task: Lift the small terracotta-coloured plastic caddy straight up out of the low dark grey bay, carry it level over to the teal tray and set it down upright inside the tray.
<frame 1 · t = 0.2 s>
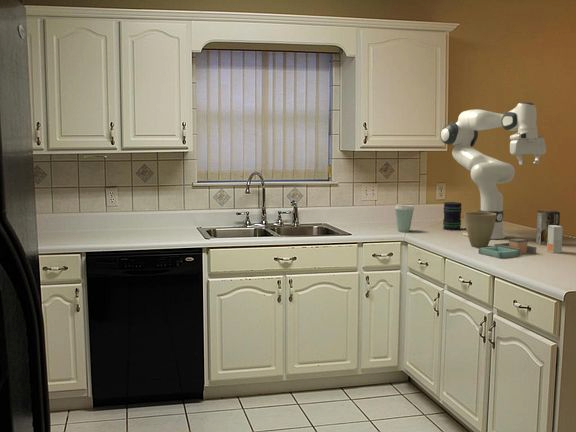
hand: (528, 164, 323), 39 cm above the counter, tool pointing down, fingers open, 8 cm apart
storage jar: (451, 229, 379), on the counter
tray: (498, 254, 297), on the counter
plant pot: (478, 247, 319), on the counter
caddy: (517, 252, 303), resting in bay
coffee box: (547, 244, 328), on the counter
skincare box: (554, 252, 305), on the counter
bay: (517, 252, 303), on the counter
disposable coffee cup: (404, 231, 370), on the counter
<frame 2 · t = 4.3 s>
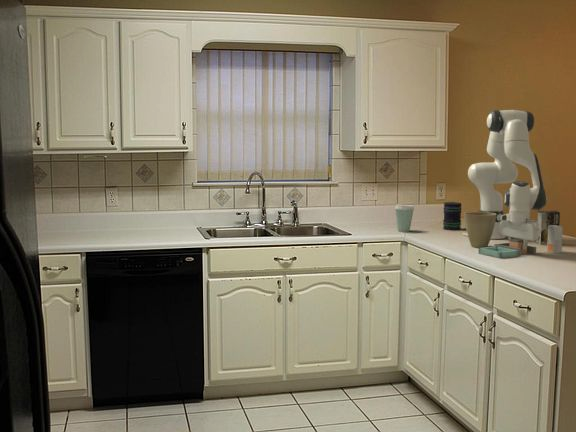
hand: (518, 248, 302), 2 cm above the counter, tool pointing down, fingers closed on caddy, 5 cm apart
caddy: (517, 252, 303), resting in bay, touching gripper
everything else where it was.
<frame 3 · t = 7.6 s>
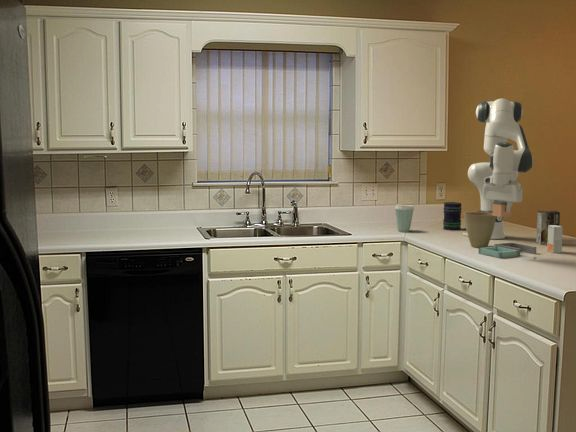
hand: (501, 211, 295), 20 cm above the counter, tool pointing down, fingers closed on caddy, 5 cm apart
caddy: (501, 215, 295), point 17 cm above the counter, touching gripper
everything else where it was.
when the fingers open (4 cm above the counter, at t = 11.1 s): caddy drops 1 cm, resting on tray.
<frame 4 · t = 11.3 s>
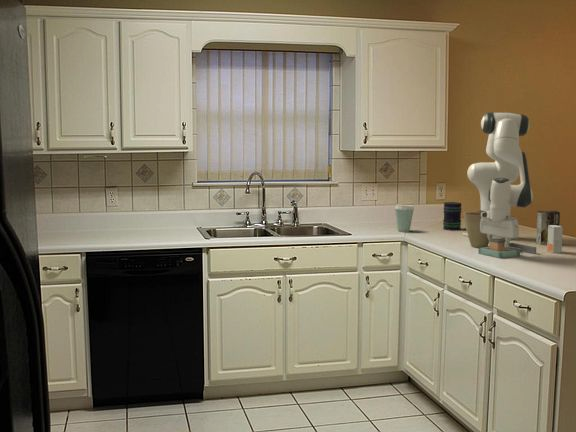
hand: (498, 245, 297), 4 cm above the counter, tool pointing down, fingers open, 7 cm apart
caddy: (498, 253, 297), point 1 cm above the counter, touching tray
everything else where it was.
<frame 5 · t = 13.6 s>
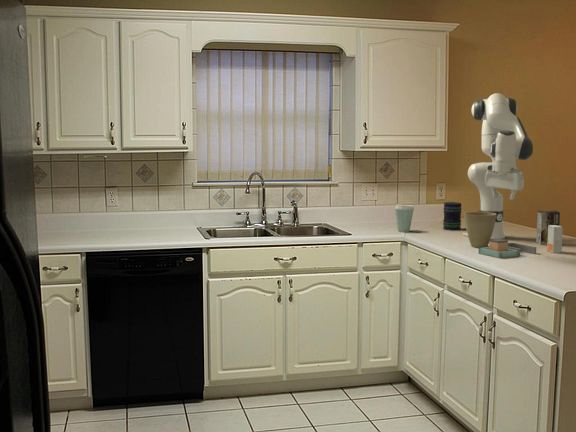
hand: (503, 198, 299), 25 cm above the counter, tool pointing down, fingers open, 8 cm apart
nothing on the counter moved.
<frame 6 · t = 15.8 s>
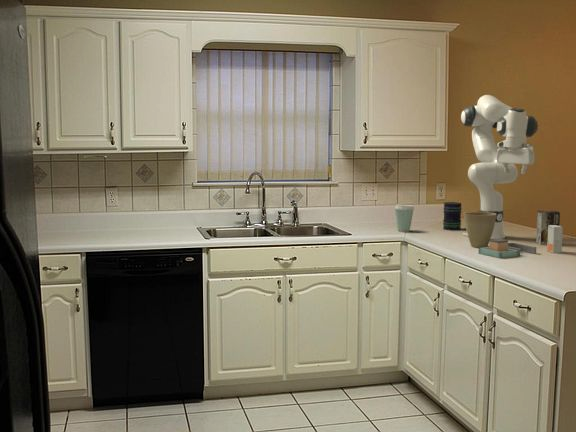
hand: (514, 173, 310), 35 cm above the counter, tool pointing down, fingers open, 8 cm apart
nothing on the counter moved.
at the end: caddy inside the target area on the tray (0.1 cm from its centre), point 0.6 cm above the tray's base; caddy tilted 0°; the gripper is holding nothing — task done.
